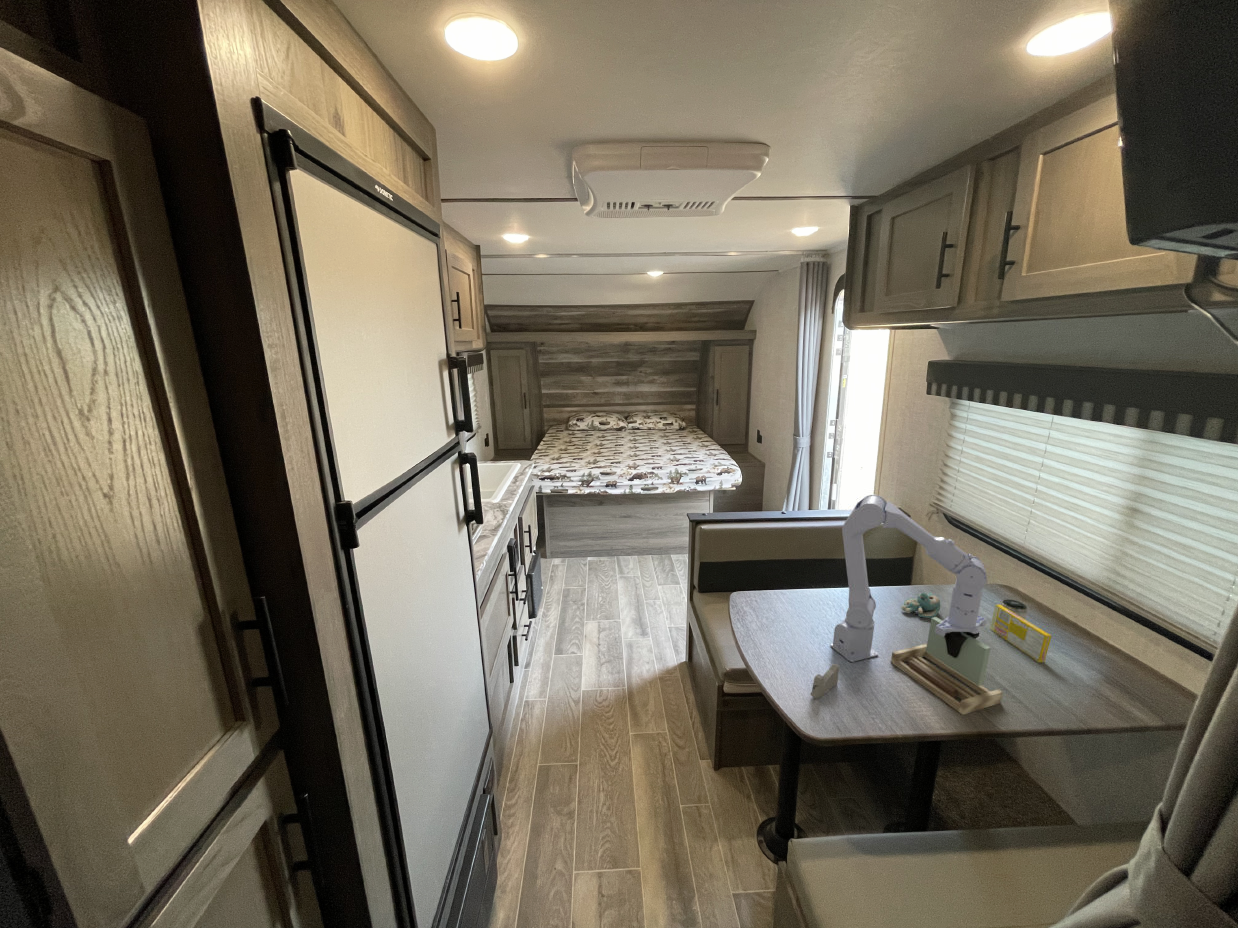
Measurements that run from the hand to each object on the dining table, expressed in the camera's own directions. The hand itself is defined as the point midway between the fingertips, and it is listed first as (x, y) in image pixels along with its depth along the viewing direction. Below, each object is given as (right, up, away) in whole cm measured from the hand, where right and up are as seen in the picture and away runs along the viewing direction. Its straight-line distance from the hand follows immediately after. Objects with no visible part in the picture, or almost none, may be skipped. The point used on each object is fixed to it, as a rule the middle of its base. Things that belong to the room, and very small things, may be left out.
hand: (955, 654), depth 121 cm
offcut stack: (-6, -7, 0) cm, 9 cm away
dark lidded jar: (+33, -1, +24) cm, 41 cm away
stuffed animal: (+11, 0, +33) cm, 35 cm away
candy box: (+28, -4, +16) cm, 32 cm away
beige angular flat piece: (-34, -8, -3) cm, 35 cm away
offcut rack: (-2, -7, +1) cm, 7 cm away
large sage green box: (0, -4, +1) cm, 4 cm away
